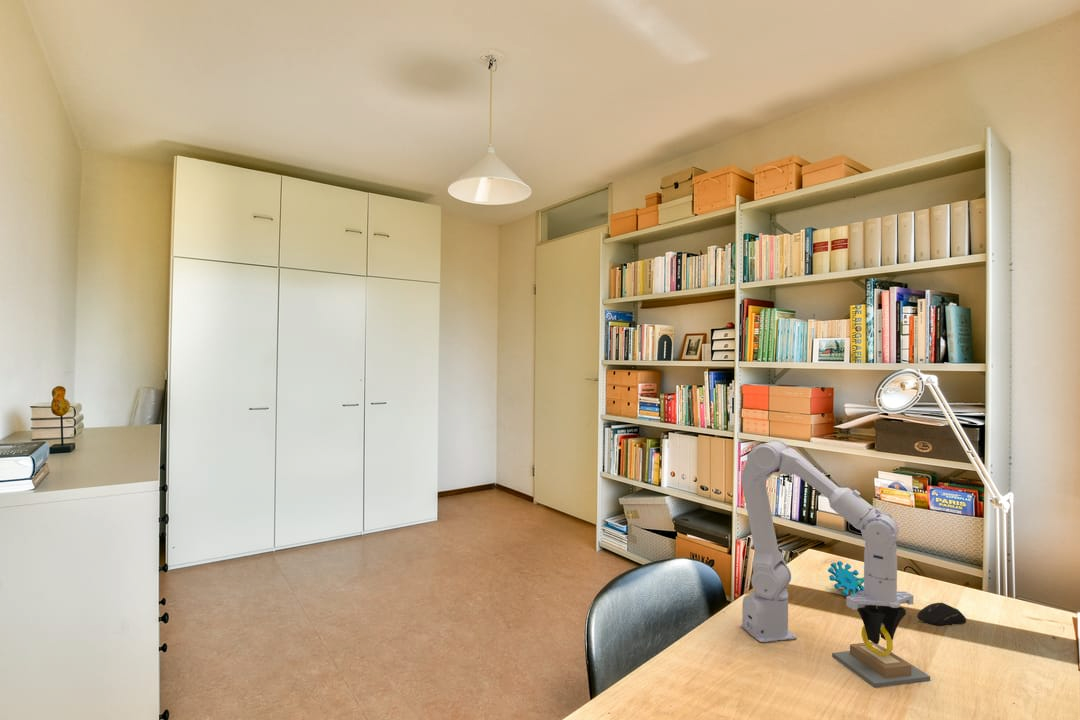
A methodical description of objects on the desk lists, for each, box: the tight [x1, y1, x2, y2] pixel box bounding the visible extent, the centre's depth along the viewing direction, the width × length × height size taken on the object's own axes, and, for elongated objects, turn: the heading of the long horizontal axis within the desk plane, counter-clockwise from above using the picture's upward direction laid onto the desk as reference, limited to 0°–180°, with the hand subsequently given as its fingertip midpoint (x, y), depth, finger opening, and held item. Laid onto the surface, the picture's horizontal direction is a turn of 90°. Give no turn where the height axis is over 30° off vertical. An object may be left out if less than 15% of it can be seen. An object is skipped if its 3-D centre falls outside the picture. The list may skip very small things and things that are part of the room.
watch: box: [860, 623, 894, 656], centre depth 109 cm, size 6×3×6 cm, turn 20°
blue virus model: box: [827, 560, 864, 597], centre depth 146 cm, size 11×6×10 cm
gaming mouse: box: [915, 602, 967, 627], centre depth 129 cm, size 6×15×4 cm, turn 106°
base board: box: [831, 641, 931, 688], centre depth 108 cm, size 13×11×3 cm
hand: (879, 640), depth 108 cm, fingers closed on watch, 3 cm apart
